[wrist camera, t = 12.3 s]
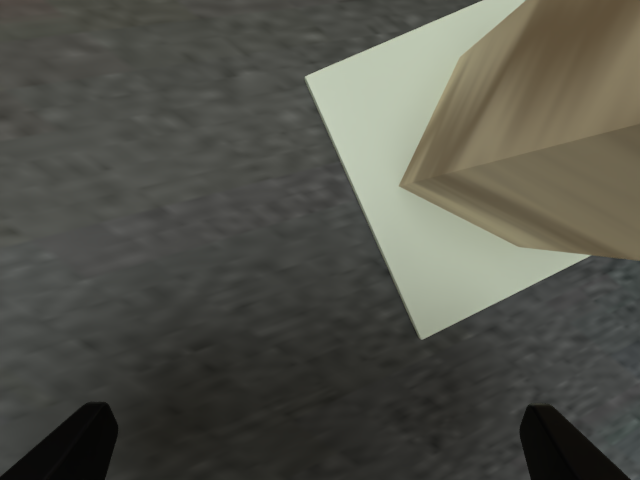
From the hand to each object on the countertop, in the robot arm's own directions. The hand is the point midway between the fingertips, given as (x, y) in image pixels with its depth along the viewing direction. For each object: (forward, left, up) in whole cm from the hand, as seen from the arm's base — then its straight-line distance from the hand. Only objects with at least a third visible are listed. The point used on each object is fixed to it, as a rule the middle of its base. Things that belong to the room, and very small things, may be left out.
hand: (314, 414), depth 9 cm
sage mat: (+3, -11, -9) cm, 14 cm away
